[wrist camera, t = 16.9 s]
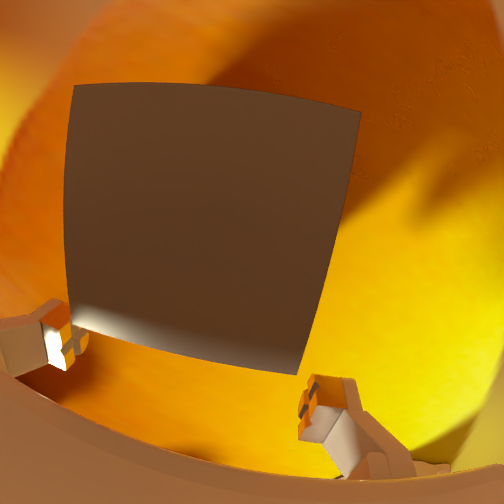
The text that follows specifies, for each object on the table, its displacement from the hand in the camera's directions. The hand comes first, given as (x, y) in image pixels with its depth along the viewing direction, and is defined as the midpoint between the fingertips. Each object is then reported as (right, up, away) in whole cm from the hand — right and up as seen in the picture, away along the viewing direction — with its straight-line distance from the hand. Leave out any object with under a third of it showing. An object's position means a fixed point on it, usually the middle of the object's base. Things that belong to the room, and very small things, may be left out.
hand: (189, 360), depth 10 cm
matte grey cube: (+1, +7, +5) cm, 9 cm away
